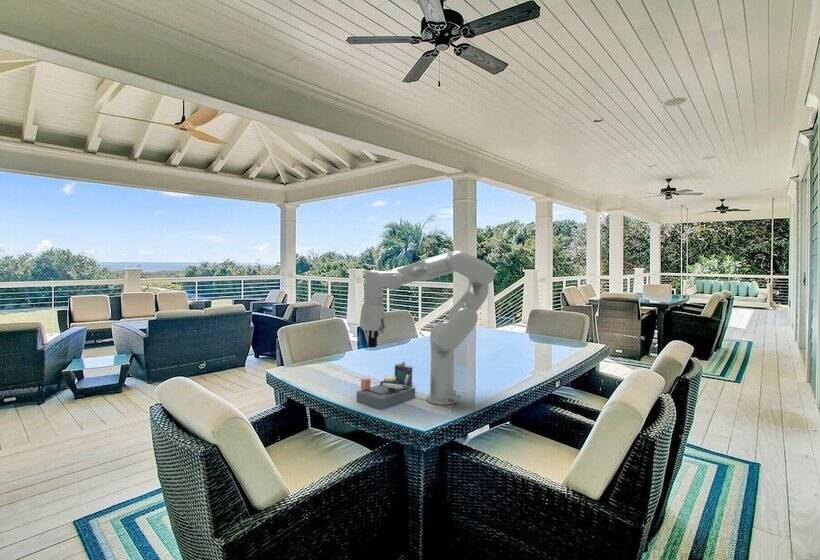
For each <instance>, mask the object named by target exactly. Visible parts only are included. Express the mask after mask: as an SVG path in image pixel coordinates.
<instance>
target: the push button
mask: <svg viewBox="0 0 820 560" xmlns="http://www.w3.org/2000/svg"><path fill="white" fill-rule="evenodd" d="M383 381H386V382H387V383H392V382H394V381H396V377H395V375H385V376H383Z"/></svg>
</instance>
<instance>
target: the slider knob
mask: <svg viewBox="0 0 820 560" xmlns="http://www.w3.org/2000/svg"><path fill="white" fill-rule="evenodd" d="M370 388H371V378H368V377H364V378H361V379H360V390H367V389H370Z"/></svg>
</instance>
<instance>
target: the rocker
mask: <svg viewBox="0 0 820 560" xmlns="http://www.w3.org/2000/svg"><path fill="white" fill-rule="evenodd" d="M382 385H383V386H386V387H390V388H402V389H403V386H401V385H397V384H389V383H383V384H382Z"/></svg>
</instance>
